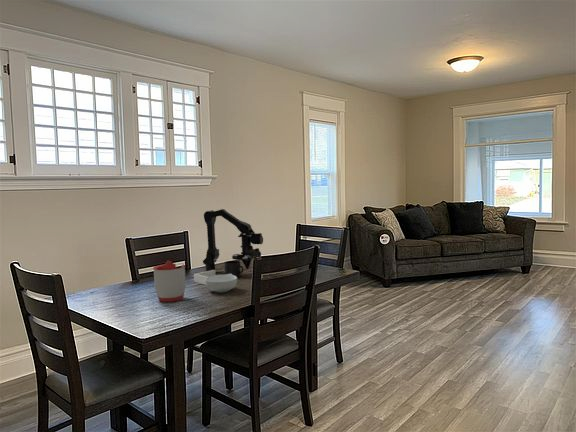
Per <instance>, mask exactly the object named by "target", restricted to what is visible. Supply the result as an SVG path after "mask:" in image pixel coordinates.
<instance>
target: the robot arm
mask: <svg viewBox="0 0 576 432" xmlns="http://www.w3.org/2000/svg"><path fill="white" fill-rule="evenodd" d="M217 217H222V218H224V219H225V220H226V221H228V222H229V223H230V224H232V225H234V227H236V229H237V230H238V231H239V232H240V234H239V235H238V236H237V237H238V238H241V245H240V248H241V252H240V254H239V253H235V254H232V257H231V258H232V260H233V261H240V260H241V261H242V263H243V265H244V266H245V269H246V270H249V268H250V266H251V262H252V261H253V259H255V258H256V257H255V256H257V257H261V256H262V252H261V251H260V248H258V247H257V248H254V246H253V245H263V243H264V237H263V233H261V232H259V233H256V232H255V231H254V230H253V228H252V225H251V224H250V223H248V222H246V221H243V220H241V219H239V218H237V217H235V216H234V215H233V214H231V213H230V212H228V211H226V209H223V208H220V209H218V210H213V209H212V210H207V211H205V212H204V214H203V219H204V223H205V224H206V230H207V234H206V235H207V250H206V255H205V258H204V259H203V260H202V263H203V265H204V266H205V272H206V271H211V270H215V273H216V274H217V273H218V271H216V264H215V263H216V262H217V260H218V258H219V256H221V255H220V249H219V248H218V247H217V246H216V229H215V225H216V221H217Z"/></svg>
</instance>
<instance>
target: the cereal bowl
mask: <svg viewBox="0 0 576 432" xmlns="http://www.w3.org/2000/svg"><path fill="white" fill-rule="evenodd" d="M205 283H206V285H205V286H206V288H207V289H209V290H210V291H211V292H214V293H218V294H219V293H222V294H223V293H228V292H229V291H230V290H232V289H234V288H235V287H236V285H237V283H238V278H237V277H236V276H234V275H226V274H225V273H224V274H216V275H214V276H210V277H207V278H206V279H205Z"/></svg>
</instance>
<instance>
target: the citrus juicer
mask: <svg viewBox="0 0 576 432" xmlns="http://www.w3.org/2000/svg"><path fill="white" fill-rule="evenodd" d="M185 266H186V265H185V264H181V265H180V267H177V265H176V263H174V262H172V261H171V260H167V261H166V262H165V263H164V264H158V265H156V266H153V268H152V269H153V277H154V278H153V281H154V289H155V293H156V296H157V299H158V300H159V302H163V303H164V302H165V303H173V302H177V301H180V300H183V298H184V296H185V291H186V269H185Z"/></svg>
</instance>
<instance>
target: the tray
mask: <svg viewBox="0 0 576 432" xmlns="http://www.w3.org/2000/svg"><path fill="white" fill-rule="evenodd" d="M215 271H216V269H215V270H211V271H206V270H205V271H201V272H198V273H193V281H194V283H198V284H201V285H205V286H206V283H205V279H206V278H207V277H210V276H214V275H217V272H216V273H215ZM227 275H232V274H227Z"/></svg>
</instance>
